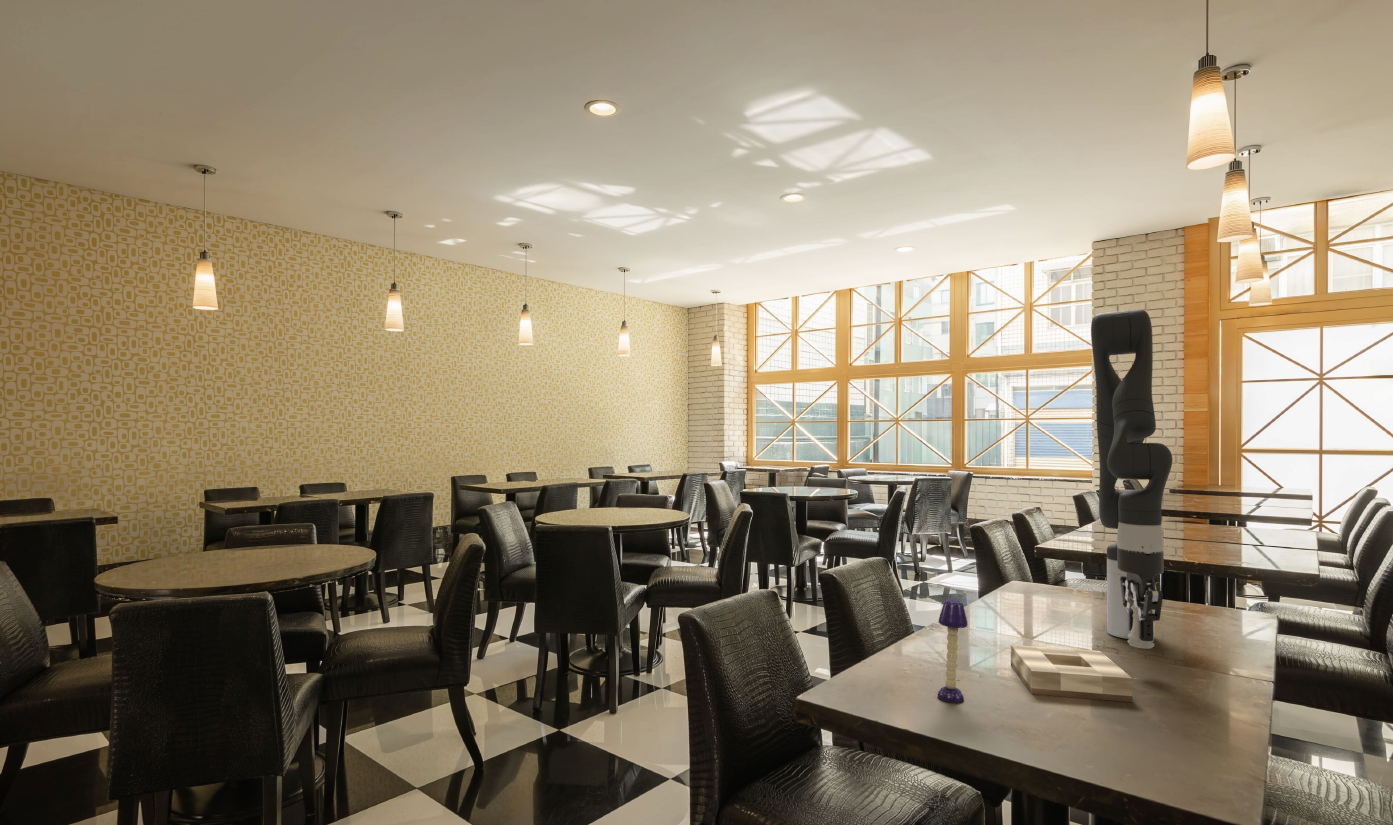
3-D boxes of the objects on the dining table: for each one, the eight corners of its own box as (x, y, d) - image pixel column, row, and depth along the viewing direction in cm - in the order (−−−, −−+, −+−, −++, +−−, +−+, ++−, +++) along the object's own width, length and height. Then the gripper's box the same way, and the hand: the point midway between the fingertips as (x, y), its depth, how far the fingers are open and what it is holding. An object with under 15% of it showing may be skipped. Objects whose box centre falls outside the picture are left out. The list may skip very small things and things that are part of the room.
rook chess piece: (1159, 650, 133) (1158, 607, 133) (1132, 648, 134) (1132, 605, 134) (1148, 642, 137) (1148, 601, 137) (1123, 641, 138) (1123, 600, 138)
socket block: (1010, 665, 140) (1010, 644, 140) (1099, 672, 136) (1099, 650, 137) (1031, 693, 124) (1031, 670, 124) (1132, 702, 121) (1132, 678, 121)
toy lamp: (967, 696, 122) (966, 599, 123) (967, 705, 118) (967, 604, 119) (937, 692, 124) (937, 596, 125) (937, 702, 120) (937, 602, 120)
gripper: (1104, 540, 144) (1105, 625, 143) (1133, 552, 130) (1134, 647, 129) (1146, 541, 142) (1146, 627, 142) (1179, 554, 128) (1180, 649, 128)
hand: (1140, 636), depth 135 cm, fingers closed on rook chess piece, 4 cm apart
